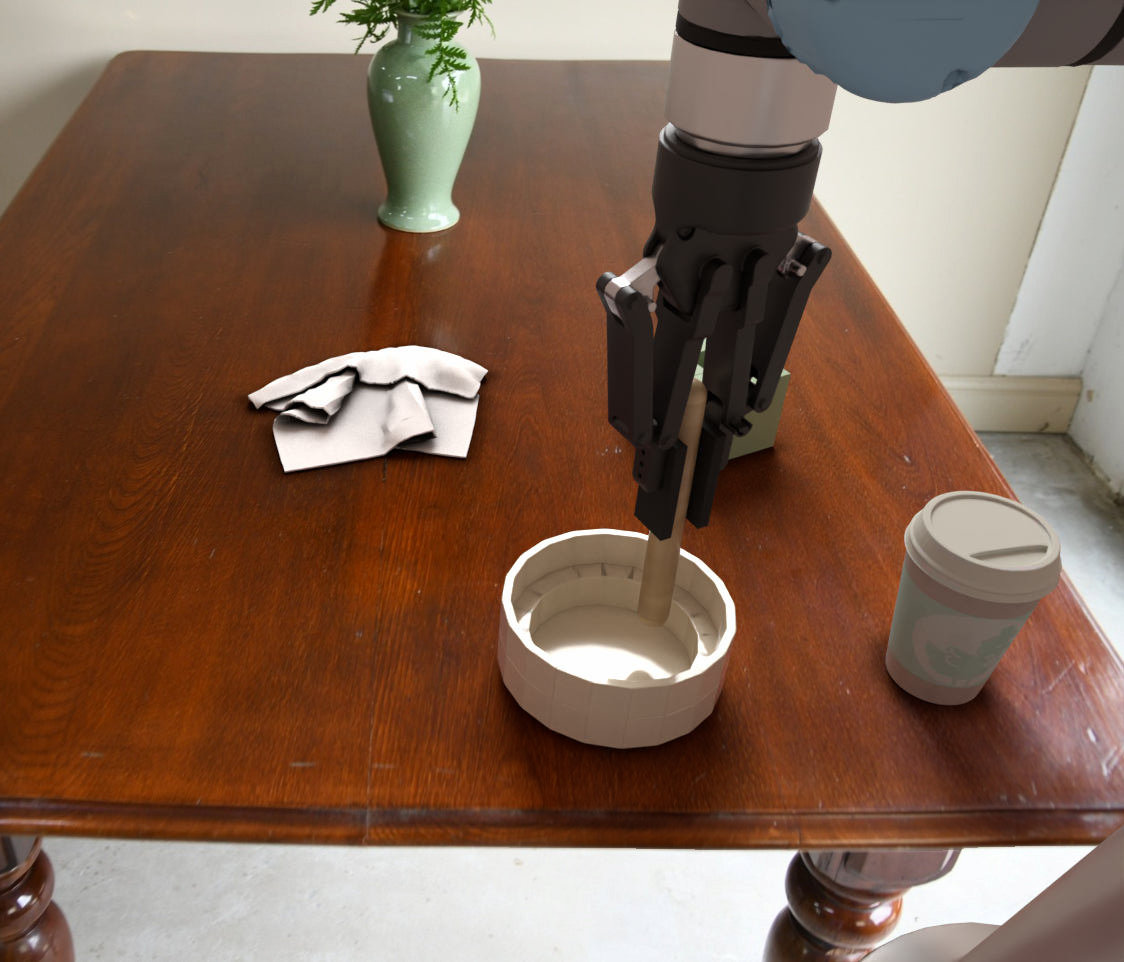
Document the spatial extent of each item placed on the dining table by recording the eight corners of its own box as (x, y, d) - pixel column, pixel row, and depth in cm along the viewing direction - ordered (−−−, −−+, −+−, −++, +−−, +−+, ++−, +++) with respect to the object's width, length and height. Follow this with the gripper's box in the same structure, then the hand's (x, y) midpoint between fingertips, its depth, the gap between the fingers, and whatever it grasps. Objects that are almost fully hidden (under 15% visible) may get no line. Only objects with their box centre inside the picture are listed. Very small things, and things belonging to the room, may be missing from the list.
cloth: (509, 364, 104) (511, 341, 102) (444, 503, 87) (445, 478, 86) (303, 331, 109) (301, 309, 107) (203, 457, 92) (200, 432, 91)
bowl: (766, 710, 70) (785, 641, 67) (571, 788, 66) (581, 719, 62) (636, 573, 81) (647, 507, 77) (460, 631, 76) (462, 564, 72)
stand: (773, 446, 93) (791, 373, 89) (686, 472, 90) (700, 399, 86) (708, 394, 100) (721, 324, 96) (624, 417, 97) (634, 346, 93)
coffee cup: (858, 700, 71) (910, 555, 64) (867, 612, 77) (915, 472, 70) (1006, 739, 69) (1077, 593, 61) (1002, 645, 75) (1066, 503, 68)
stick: (673, 628, 72) (717, 383, 61) (647, 637, 71) (687, 392, 61) (655, 609, 73) (694, 367, 63) (629, 618, 72) (664, 375, 62)
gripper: (812, 84, 58) (732, 456, 72) (562, 127, 53) (529, 517, 67) (922, 130, 53) (813, 523, 67) (655, 182, 48) (598, 595, 62)
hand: (670, 519), depth 67 cm, fingers closed on stick, 2 cm apart
